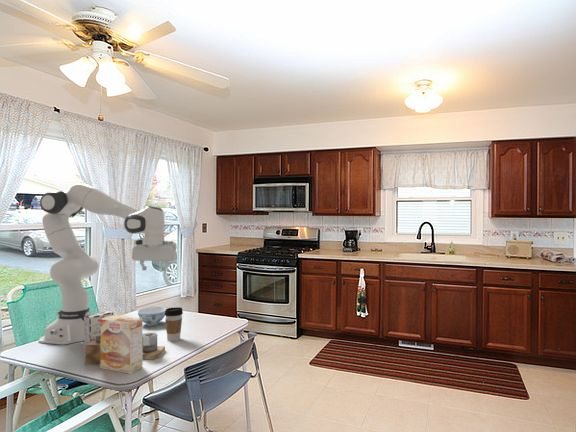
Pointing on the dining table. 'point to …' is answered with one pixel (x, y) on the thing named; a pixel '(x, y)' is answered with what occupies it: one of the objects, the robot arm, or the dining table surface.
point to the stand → (93, 352)
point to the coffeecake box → (121, 343)
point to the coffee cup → (173, 323)
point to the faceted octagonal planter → (149, 339)
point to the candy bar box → (93, 325)
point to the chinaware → (152, 315)
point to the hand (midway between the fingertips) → (154, 270)
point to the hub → (152, 350)
